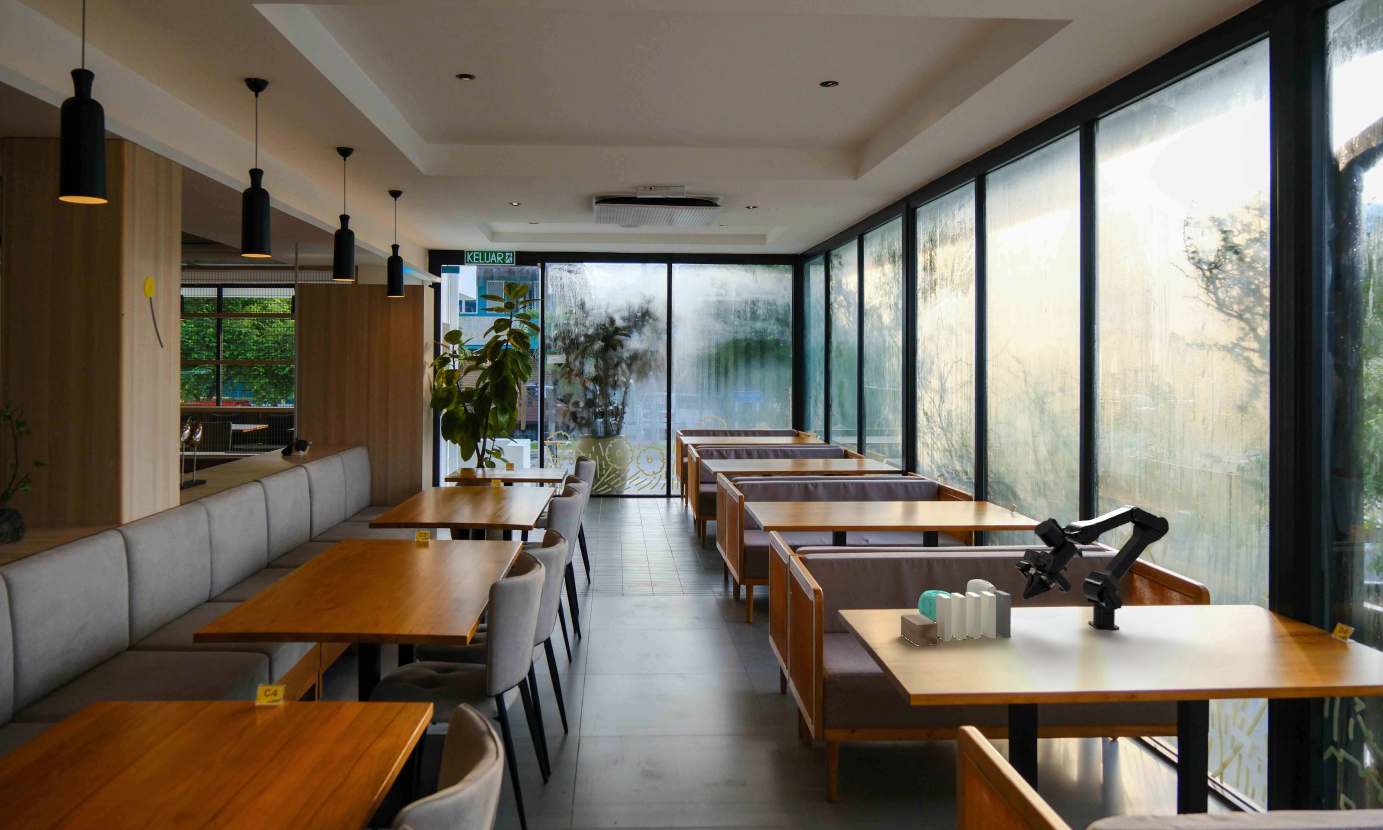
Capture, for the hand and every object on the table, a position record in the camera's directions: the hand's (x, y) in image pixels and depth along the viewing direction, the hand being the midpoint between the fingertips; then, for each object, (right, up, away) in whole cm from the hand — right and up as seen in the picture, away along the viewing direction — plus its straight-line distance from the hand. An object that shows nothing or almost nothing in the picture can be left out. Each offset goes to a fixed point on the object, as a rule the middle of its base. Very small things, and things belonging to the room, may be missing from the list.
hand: (1023, 598), depth 239 cm
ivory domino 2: (-20, -10, -4) cm, 23 cm away
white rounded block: (-8, -10, +13) cm, 18 cm away
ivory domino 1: (-24, -10, -5) cm, 27 cm away
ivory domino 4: (-11, -10, -2) cm, 15 cm away
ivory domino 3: (-16, -10, -3) cm, 19 cm away
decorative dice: (-21, -10, +15) cm, 27 cm away
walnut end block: (-32, -10, -6) cm, 34 cm away
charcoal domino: (-7, -10, -1) cm, 12 cm away
